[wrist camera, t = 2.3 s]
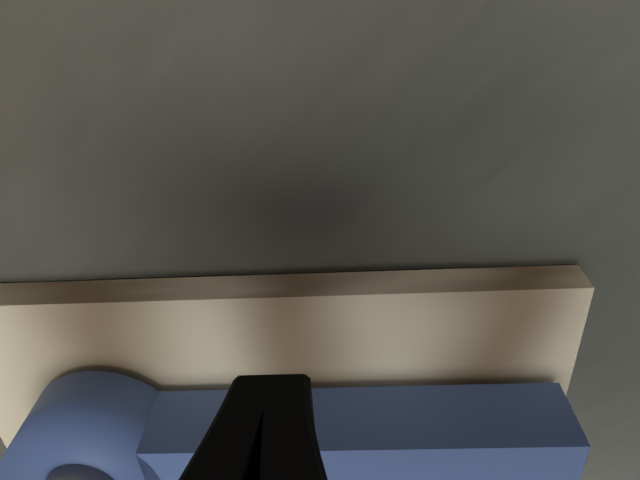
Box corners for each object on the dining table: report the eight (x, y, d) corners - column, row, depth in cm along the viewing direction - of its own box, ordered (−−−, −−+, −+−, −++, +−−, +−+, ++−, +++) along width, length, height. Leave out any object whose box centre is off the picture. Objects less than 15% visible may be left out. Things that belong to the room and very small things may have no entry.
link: (62, 469, 20) (19, 557, 17) (16, 372, 17) (-45, 458, 14) (538, 462, 19) (573, 554, 16) (564, 359, 16) (611, 447, 14)
